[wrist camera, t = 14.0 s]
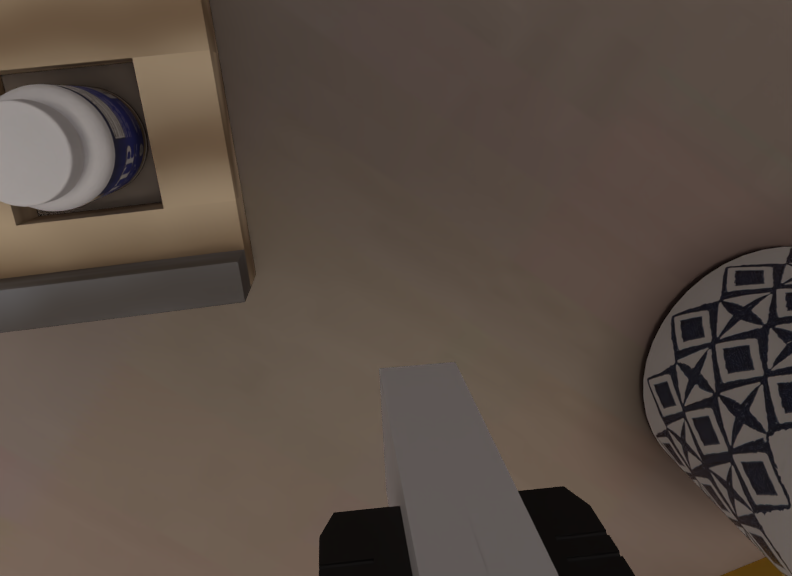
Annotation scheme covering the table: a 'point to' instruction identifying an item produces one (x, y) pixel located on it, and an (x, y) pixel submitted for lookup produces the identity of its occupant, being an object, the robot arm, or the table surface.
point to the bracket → (756, 569)
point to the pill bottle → (66, 146)
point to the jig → (174, 162)
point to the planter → (732, 394)
